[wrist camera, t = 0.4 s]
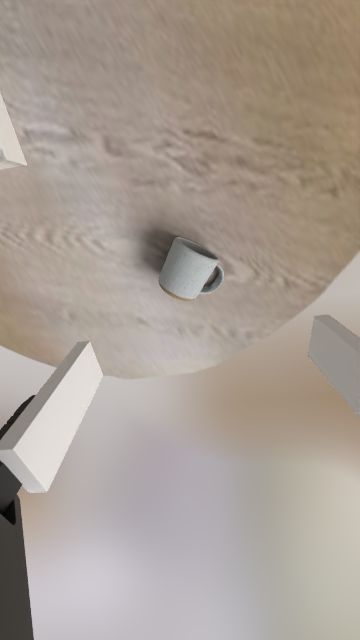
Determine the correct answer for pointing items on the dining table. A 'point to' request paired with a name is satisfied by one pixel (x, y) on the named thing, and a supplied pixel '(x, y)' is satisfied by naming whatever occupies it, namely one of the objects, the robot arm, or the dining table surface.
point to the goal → (9, 142)
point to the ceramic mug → (189, 270)
